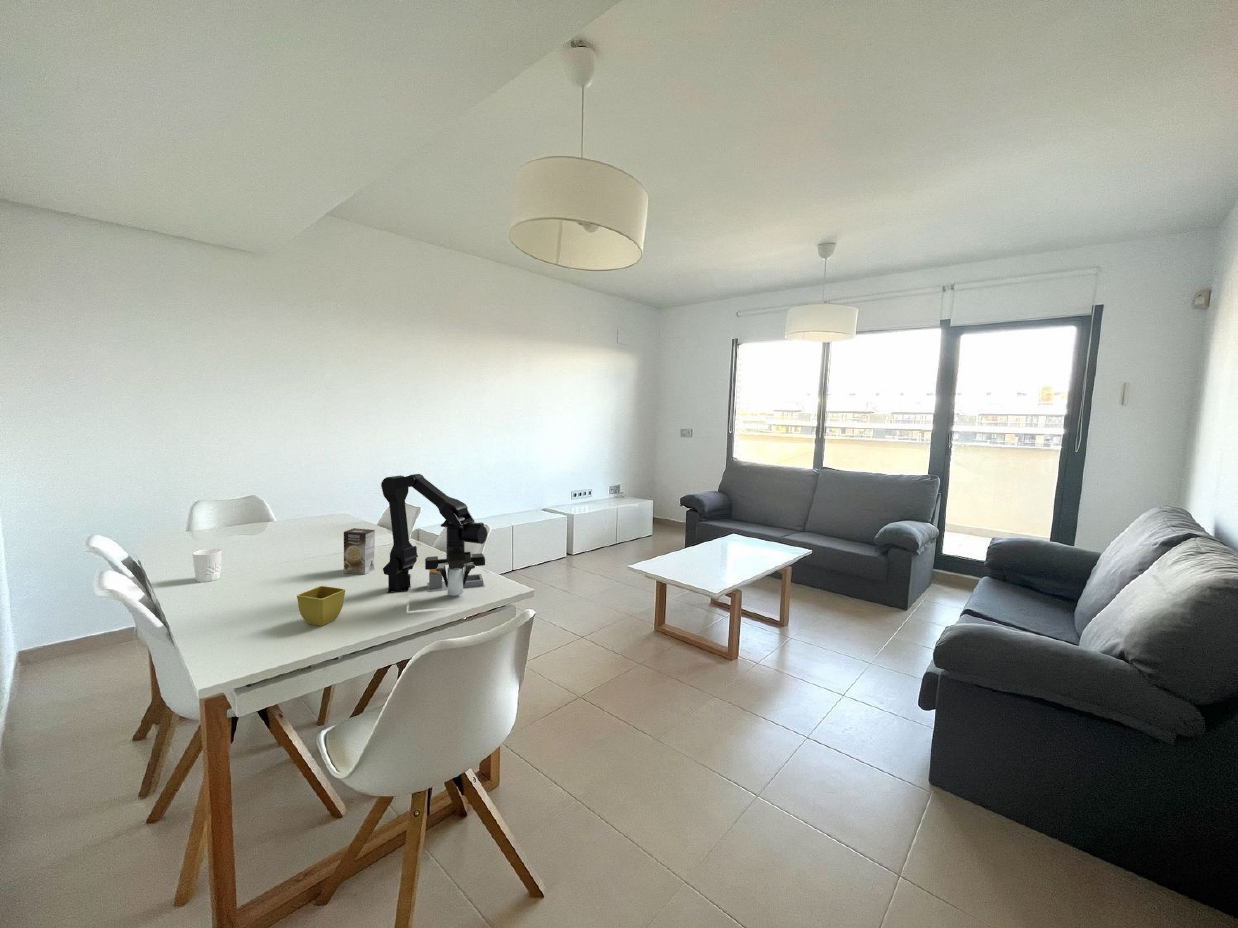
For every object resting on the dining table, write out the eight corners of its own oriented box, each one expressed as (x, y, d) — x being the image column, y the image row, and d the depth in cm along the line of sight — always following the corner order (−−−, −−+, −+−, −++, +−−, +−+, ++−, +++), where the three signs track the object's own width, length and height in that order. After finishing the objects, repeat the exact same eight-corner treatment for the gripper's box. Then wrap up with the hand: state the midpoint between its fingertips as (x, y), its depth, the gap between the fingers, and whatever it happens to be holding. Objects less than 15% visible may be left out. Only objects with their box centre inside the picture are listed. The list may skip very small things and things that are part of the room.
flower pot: (346, 618, 142) (346, 588, 141) (322, 630, 133) (321, 598, 132) (321, 614, 144) (321, 585, 143) (296, 626, 135) (295, 595, 134)
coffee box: (342, 573, 182) (342, 531, 180) (353, 568, 188) (353, 527, 187) (365, 574, 181) (365, 532, 179) (375, 569, 187) (375, 529, 186)
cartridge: (447, 590, 162) (447, 564, 161) (462, 589, 164) (462, 563, 163) (447, 596, 157) (447, 569, 156) (463, 594, 159) (463, 568, 158)
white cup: (226, 578, 171) (225, 551, 170) (198, 584, 165) (197, 556, 164) (217, 574, 176) (216, 547, 175) (190, 579, 169) (189, 552, 168)
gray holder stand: (427, 594, 163) (427, 577, 162) (427, 584, 172) (427, 568, 172) (484, 588, 170) (485, 572, 169) (482, 580, 179) (482, 564, 179)
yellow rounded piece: (429, 585, 166) (429, 568, 165) (429, 582, 169) (429, 565, 169) (441, 584, 167) (441, 567, 167) (441, 581, 171) (441, 564, 170)
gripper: (425, 548, 148) (425, 597, 149) (487, 544, 155) (486, 591, 156) (425, 539, 158) (425, 585, 160) (483, 536, 165) (483, 580, 167)
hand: (455, 586), depth 160 cm, fingers closed on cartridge, 5 cm apart
